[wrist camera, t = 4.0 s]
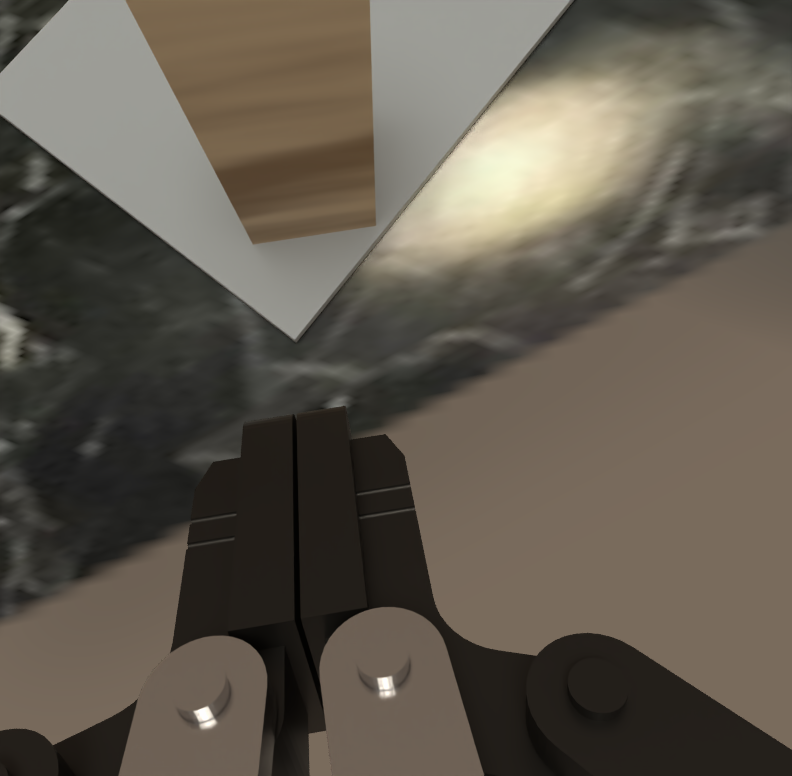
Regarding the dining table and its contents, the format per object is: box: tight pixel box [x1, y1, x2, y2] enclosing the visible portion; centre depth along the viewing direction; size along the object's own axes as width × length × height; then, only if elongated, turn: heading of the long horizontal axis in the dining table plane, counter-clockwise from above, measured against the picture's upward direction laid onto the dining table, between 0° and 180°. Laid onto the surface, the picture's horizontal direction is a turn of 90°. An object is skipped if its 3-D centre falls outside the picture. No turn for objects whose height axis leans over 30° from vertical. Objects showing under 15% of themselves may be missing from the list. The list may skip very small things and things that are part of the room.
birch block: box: [125, 0, 376, 244], centre depth 19 cm, size 4×4×14 cm
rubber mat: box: [0, 0, 574, 343], centre depth 27 cm, size 18×15×1 cm
